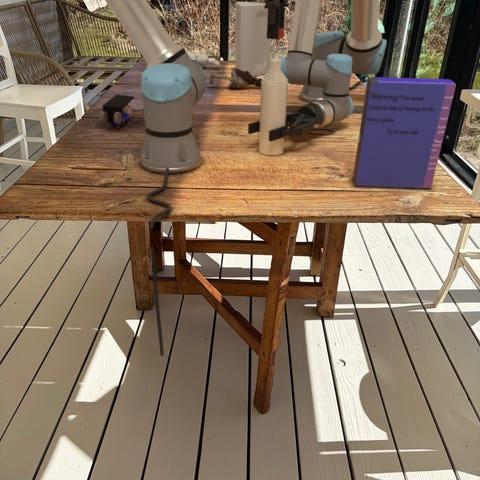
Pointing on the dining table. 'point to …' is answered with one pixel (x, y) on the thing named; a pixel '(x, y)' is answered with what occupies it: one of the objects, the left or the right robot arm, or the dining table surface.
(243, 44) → the tall white box
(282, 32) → the cap
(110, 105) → the figurine character
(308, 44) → the right robot arm
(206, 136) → the dining table surface
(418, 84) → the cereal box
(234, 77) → the figurine
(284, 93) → the bottle
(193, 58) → the toy
